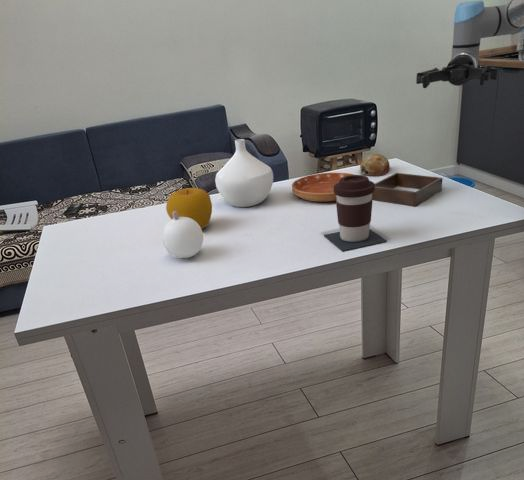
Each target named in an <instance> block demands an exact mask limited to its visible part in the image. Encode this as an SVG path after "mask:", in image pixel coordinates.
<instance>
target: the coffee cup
mask: <svg viewBox="0 0 524 480" xmlns="http://www.w3.org/2000/svg"><path fill="white" fill-rule="evenodd" d="M374 191H375V182H374V181H371V180H370V179H369V176H367V175H362V174H354V175H350V176H345V177H343V178H341V179H340V181H339V183H337V184H335V185H334V194H335V195H336V196H337V200H336V201H335V204H336V205H335V206H336V213H337V214H336V215H337V222H338V227H339V228H338V229H339V231H340V237H341V239H342V240H344V241H347V242H360V241H363V240H365V239H367V238H368V236H369V229H371V228H370V227H371V222H372V209H373V201H374V200H373V199H372V193H373V192H374Z"/></svg>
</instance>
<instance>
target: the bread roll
mask: <svg viewBox="0 0 524 480" xmlns="http://www.w3.org/2000/svg"><path fill="white" fill-rule="evenodd" d="M390 168H391V165H390V161H389V159H388V158H387V157H386V156H384V155H382V154H380V153H372V154H368V155H367V156H365V157H364V158H363V159H362V160H361V162H360V165H359V169H360V173H361V175H363V176H367V177H371V176H372V177H380V176H384V175H387V174H388V173H389V171H390Z"/></svg>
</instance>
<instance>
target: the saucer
mask: <svg viewBox="0 0 524 480" xmlns="http://www.w3.org/2000/svg"><path fill="white" fill-rule="evenodd" d="M350 175H355V174H354V173H348V172H323V173H315V174H310V175H306V176H303V177H300V178H298V179H296V180H294V181H293V182H292V184H291V192H292V193H293V194H294V195H295V196H297V197H299V198H301V199H302V200H304V201H309V202H316V203H317V202H320V203H323V202H324V203H325V202H326V203H327V202H336V200H337V196H336V195H335V194H334V185H335V184H337V183H339V181H340V179H341V178H343V177H345V176H350Z"/></svg>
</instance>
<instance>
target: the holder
mask: <svg viewBox="0 0 524 480" xmlns="http://www.w3.org/2000/svg"><path fill="white" fill-rule="evenodd" d="M443 179H444V178H443V177H440V176H439V177H437V176H428V175H420V174H412V173H403V172H395V173H393V174H391V175H389V176H387V177H385V178H383V179H381V180H379V181H377V182H374V184H375V191H374V192H373V193H372V199H373V201H377V202H383V203H389V204H397V205H403V206H409V207H415V208H416V207H418V206H420V205H421V204H423V203H425V202H426V201H428V200H429V199H431V198H433V197H435V196H437V195H438V194H439V193H441V192H442V191H443ZM396 187H400V188H401V187H402V188H407V189H415V191H414V190H405V189H399V188H398V189H397V188H396Z"/></svg>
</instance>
